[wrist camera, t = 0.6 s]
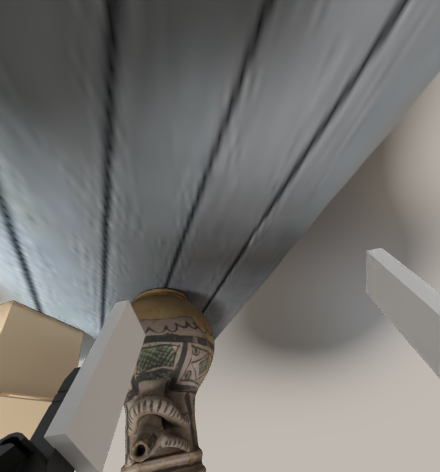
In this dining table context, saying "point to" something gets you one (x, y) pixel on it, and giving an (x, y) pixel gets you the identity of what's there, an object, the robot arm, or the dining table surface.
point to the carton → (35, 352)
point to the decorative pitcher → (166, 384)
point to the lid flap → (21, 415)
